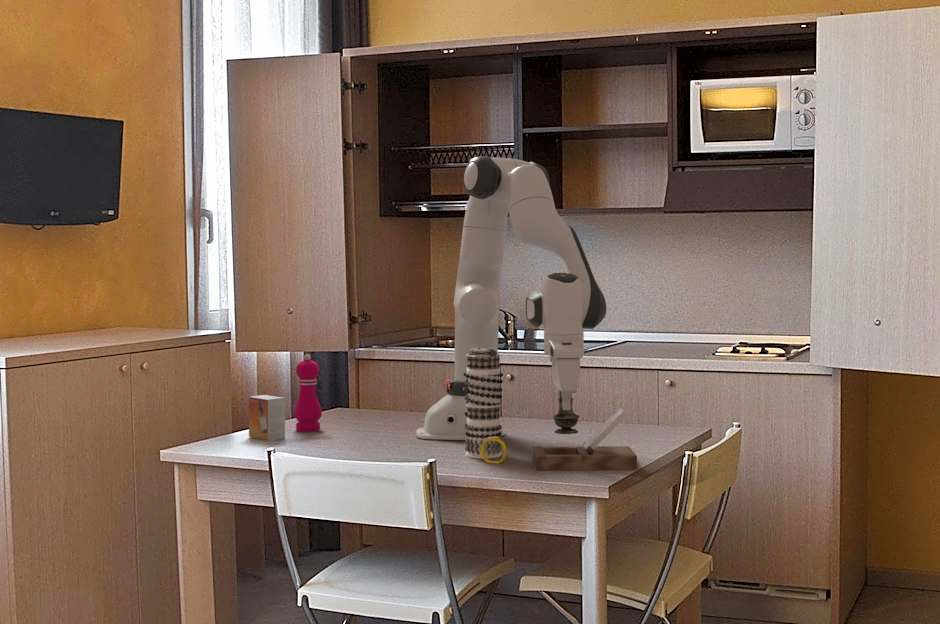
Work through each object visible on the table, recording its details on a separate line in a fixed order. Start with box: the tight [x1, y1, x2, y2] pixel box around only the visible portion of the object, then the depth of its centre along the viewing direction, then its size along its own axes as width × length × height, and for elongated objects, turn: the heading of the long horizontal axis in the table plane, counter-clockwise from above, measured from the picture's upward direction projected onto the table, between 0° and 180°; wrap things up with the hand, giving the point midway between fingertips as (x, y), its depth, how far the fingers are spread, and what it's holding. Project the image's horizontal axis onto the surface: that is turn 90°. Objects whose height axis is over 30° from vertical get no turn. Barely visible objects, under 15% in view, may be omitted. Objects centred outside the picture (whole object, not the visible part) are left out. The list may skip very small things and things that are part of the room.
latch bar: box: [582, 407, 628, 450], centre depth 269 cm, size 12×5×1 cm
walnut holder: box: [532, 441, 638, 471], centre depth 270 cm, size 22×12×4 cm, turn 91°
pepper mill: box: [293, 353, 323, 433], centre depth 317 cm, size 7×7×20 cm
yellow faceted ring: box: [481, 436, 508, 464], centre depth 272 cm, size 6×3×6 cm, turn 66°
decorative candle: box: [463, 348, 504, 460], centre depth 281 cm, size 9×9×25 cm
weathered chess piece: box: [552, 390, 580, 435], centre depth 269 cm, size 6×6×12 cm
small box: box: [248, 394, 286, 442], centre depth 305 cm, size 8×6×10 cm
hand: (564, 408), depth 269 cm, fingers closed on weathered chess piece, 3 cm apart
